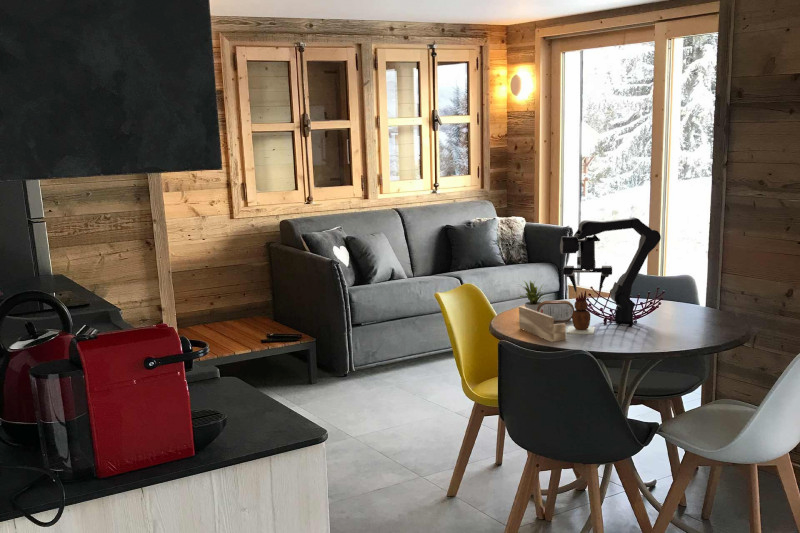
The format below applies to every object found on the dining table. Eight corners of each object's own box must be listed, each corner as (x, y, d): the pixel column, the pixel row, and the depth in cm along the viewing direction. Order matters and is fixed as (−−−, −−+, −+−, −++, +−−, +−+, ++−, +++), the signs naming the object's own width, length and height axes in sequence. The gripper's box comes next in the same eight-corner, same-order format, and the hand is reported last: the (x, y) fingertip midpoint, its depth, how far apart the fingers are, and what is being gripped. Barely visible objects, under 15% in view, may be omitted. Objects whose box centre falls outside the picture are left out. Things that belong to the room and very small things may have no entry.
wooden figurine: (591, 327, 304) (590, 289, 301) (589, 331, 298) (589, 292, 296) (573, 327, 306) (572, 289, 304) (571, 330, 301) (570, 292, 298)
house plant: (507, 317, 332) (506, 279, 330) (532, 312, 339) (532, 275, 336) (528, 322, 320) (527, 283, 317) (554, 317, 326) (554, 279, 324)
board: (595, 328, 305) (595, 326, 305) (593, 334, 296) (593, 332, 296) (568, 327, 308) (568, 326, 308) (566, 333, 299) (566, 332, 299)
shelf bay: (533, 326, 312) (532, 304, 311) (565, 339, 290) (565, 315, 289) (519, 328, 310) (518, 306, 309) (551, 341, 288) (550, 317, 287)
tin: (574, 320, 321) (574, 299, 320) (575, 321, 318) (574, 301, 317) (537, 320, 323) (536, 300, 321) (537, 322, 320) (537, 302, 318)
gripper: (612, 249, 314) (612, 288, 316) (564, 250, 319) (565, 287, 321) (611, 253, 303) (611, 293, 305) (562, 253, 308) (563, 293, 311)
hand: (587, 291), depth 311 cm, fingers open, 9 cm apart
